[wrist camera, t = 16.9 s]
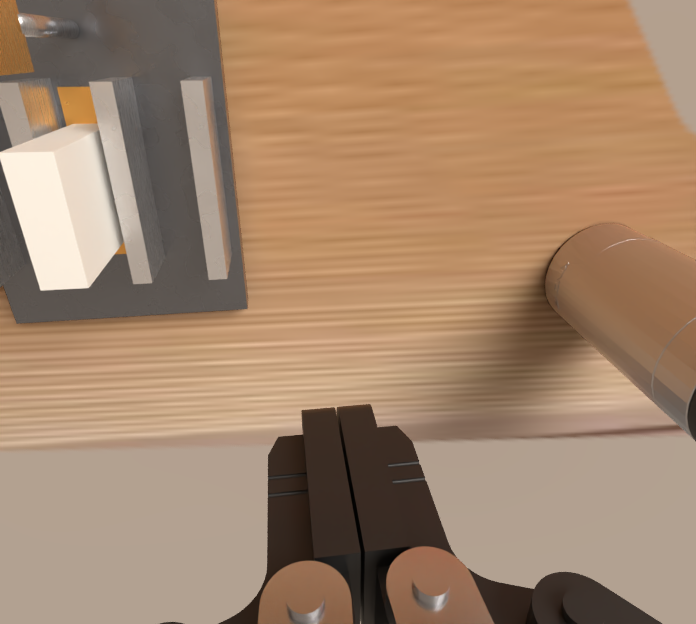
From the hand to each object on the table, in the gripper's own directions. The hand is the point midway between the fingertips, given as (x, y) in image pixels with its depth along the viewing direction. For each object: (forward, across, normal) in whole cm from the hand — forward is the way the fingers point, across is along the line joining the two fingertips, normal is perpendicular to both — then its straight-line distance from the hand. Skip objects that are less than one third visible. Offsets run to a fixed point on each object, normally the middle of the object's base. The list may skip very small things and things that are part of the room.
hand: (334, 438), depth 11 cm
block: (+27, +12, 0) cm, 30 cm away
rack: (+29, +12, 0) cm, 32 cm away
